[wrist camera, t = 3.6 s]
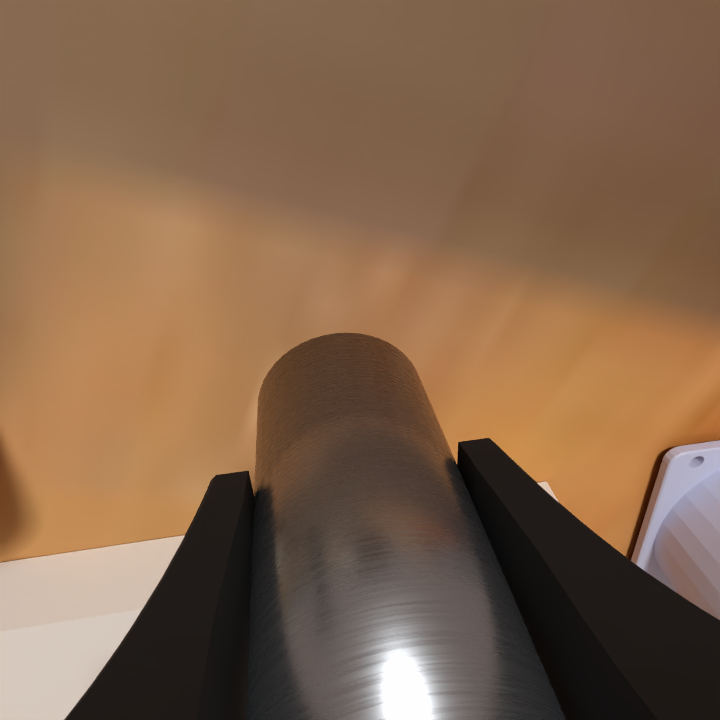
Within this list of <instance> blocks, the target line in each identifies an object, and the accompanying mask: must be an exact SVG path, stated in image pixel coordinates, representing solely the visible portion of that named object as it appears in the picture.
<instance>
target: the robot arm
mask: <svg viewBox="0 0 720 720" xmlns="http://www.w3.org/2000/svg"><path fill="white" fill-rule="evenodd" d="M457 466H458V469H459V471H460V473H461V476H462V478H463V480H464V483H465V485H466V487H467V490H468V492H469V494H470V497H471V499H472V501H473V504H474V506H475V508H476V511H477V513H478V515H479V518H480V520H481V522H482V525H483V527H484V529H485V532H486V534H487V536H488V539H489V541H490V543H491V546H492V548H493V550H494V553H495V555H496V557H497V560H498V562H499V564H500V567H501V569H502V571H503V574H504V576H505V578H506V581H507V583H508V586H509V588H510V590H511V593H512V595H513V597H514V600H515V602H516V604H517V607H518V609H519V611H520V614H521V616H522V618H523V621H524V623H525V625H526V628H527V630H528V632H529V635H530V637H531V639H532V642H533V644H534V646H535V649H536V651H537V653H538V656H539V658H540V660H541V663H542V665H543V667H544V670H545V672H546V674H547V677H548V679H549V681H550V684H551V686H552V688H553V691H554V693H555V695H556V698H557V700H558V702H559V705H560V707H561V709H562V712H563V714H564V716H565V719H566V720H720V440H718V441H711V442H704V443H698V444H691V445H684V446H678V447H674V448H672V449H671V450H669V451H668V452H667V453H666V454H665V456H664V457H663V460H662V463H661V466H660V469H659V472H658V476H657V479H656V482H655V485H654V488H653V492H652V495H651V498H650V501H649V504H648V508H647V511H646V514H645V517H644V520H643V524H642V527H641V530H640V533H639V536H638V539H637V543H636V546H635V549H634V552H633V555H632V559H631V561H630V560H629V559H628V558H626V557H625V556H624V555H622V554H621V553H620V552H618V551H617V550H616V549H615V548H613V547H612V546H611V545H610V544H608V543H607V542H606V541H604V540H603V539H602V538H601V537H599V536H598V535H597V534H596V533H594V532H593V531H592V530H591V529H590V528H588V527H587V526H586V525H585V524H583V523H582V522H581V521H580V520H579V519H577V518H576V517H575V516H574V515H573V514H572V513H571V512H569V511H568V510H567V509H566V508H565V507H564V506H562V505H561V504H560V503H559V502H558V501H557V500H555V499H554V498H553V497H552V496H551V495H550V494H549V493H548V492H546V491H545V490H544V489H543V488H542V487H541V486H540V485H539V484H538V483H537V482H535V481H534V480H533V479H532V478H531V477H530V476H529V475H528V474H527V473H526V472H525V471H524V470H523V469H522V468H520V467H519V466H518V465H517V464H516V463H515V462H514V461H513V460H512V459H511V458H510V457H509V456H508V455H507V454H506V453H505V452H504V451H503V450H502V449H501V448H500V447H498V446H497V445H496V444H495V443H494V442H493V441H492V440H491V439H489V438H485V439H478V440H470V441H463V442H458V462H457ZM253 519H254V494H253V489H252V485H251V480H250V476H249V471H243V472H236V473H229V474H221V475H216V476H215V477H214V478H213V479H212V480H211V482H210V484H209V486H208V489H207V491H206V493H205V495H204V498H203V500H202V502H201V504H200V506H199V508H198V510H197V513H196V515H195V517H194V519H193V521H192V523H191V525H190V527H189V529H188V531H187V532H186V534H185V536H184V538H183V540H182V542H181V544H180V546H179V547H178V549H177V551H176V553H175V555H174V557H173V558H172V560H171V562H170V564H169V566H168V567H167V569H166V571H165V573H164V575H163V576H162V578H161V580H160V581H159V583H158V585H157V586H156V588H155V590H154V591H153V593H152V594H151V596H150V598H149V599H148V601H147V603H146V604H145V606H144V607H143V609H142V611H141V612H140V614H139V615H138V617H137V619H136V620H135V622H134V624H133V625H132V627H131V628H130V630H129V631H128V633H127V634H126V636H125V637H124V639H123V640H122V642H121V643H120V645H119V646H118V648H117V649H116V650H115V652H114V653H113V655H112V656H111V658H110V659H109V660H108V662H107V663H106V665H105V666H104V667H103V669H102V670H101V672H100V673H99V674H98V676H97V677H96V679H95V680H94V681H93V683H92V684H91V685H90V687H89V688H88V689H87V691H86V692H85V693H84V695H83V696H82V697H81V699H80V700H79V701H78V702H77V704H76V705H75V706H74V708H73V709H72V710H71V712H70V713H69V714H68V715H67V717H66V718H65V719H64V720H246V702H247V676H248V650H249V624H250V597H251V571H252V545H253Z"/></svg>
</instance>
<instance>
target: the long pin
mask: <svg viewBox="0 0 720 720" xmlns="http://www.w3.org/2000/svg"><path fill="white" fill-rule="evenodd" d="M246 720H566V719H565V716H564V714H563V712H562V709H561V707H560V705H559V702H558V700H557V698H556V695H555V693H554V691H553V688H552V686H551V684H550V681H549V679H548V677H547V674H546V672H545V670H544V667H543V665H542V663H541V660H540V658H539V656H538V653H537V651H536V649H535V646H534V644H533V642H532V639H531V637H530V635H529V632H528V630H527V628H526V625H525V623H524V621H523V618H522V616H521V614H520V611H519V609H518V607H517V604H516V602H515V600H514V597H513V595H512V593H511V590H510V588H509V586H508V583H507V581H506V578H505V576H504V574H503V571H502V569H501V567H500V564H499V562H498V560H497V557H496V555H495V553H494V550H493V548H492V546H491V543H490V541H489V539H488V536H487V534H486V532H485V529H484V527H483V525H482V522H481V520H480V518H479V515H478V513H477V511H476V508H475V506H474V504H473V501H472V499H471V497H470V494H469V492H468V490H467V487H466V485H465V483H464V480H463V478H462V476H461V473H460V471H459V469H458V466H457V464H456V462H455V459H454V457H453V455H452V452H451V450H450V448H449V445H448V443H447V441H446V438H445V436H444V434H443V431H442V429H441V427H440V424H439V422H438V420H437V417H436V415H435V413H434V410H433V408H432V406H431V403H430V401H429V399H428V396H427V394H426V392H425V389H424V387H423V385H422V382H421V380H420V378H419V375H418V373H417V371H416V369H415V367H414V366H413V364H412V362H411V361H410V360H409V359H408V358H407V357H406V355H405V354H403V353H402V352H401V351H400V350H399V349H397V348H396V347H394V346H393V345H391V344H390V343H388V342H385V341H383V340H381V339H379V338H375V337H372V336H369V335H363V334H357V333H336V334H330V335H324V336H320V337H317V338H314V339H311V340H309V341H306V342H304V343H302V344H300V345H298V346H296V347H295V348H293V349H291V350H290V351H289V352H287V353H286V354H285V355H283V356H282V357H281V358H280V359H279V360H278V361H277V362H276V363H275V364H274V365H273V367H272V368H271V369H270V371H269V372H268V374H267V376H266V377H265V379H264V381H263V384H262V386H261V389H260V393H259V397H258V414H257V440H256V466H255V492H254V519H253V545H252V571H251V597H250V624H249V650H248V676H247V702H246Z"/></svg>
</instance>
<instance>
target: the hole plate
mask: <svg viewBox="0 0 720 720" xmlns="http://www.w3.org/2000/svg"><path fill="white" fill-rule="evenodd" d="M538 484H539V485H540V486H541V487H542V488H543V489H544V490H545V491H546V492H548V493H549V494H550V495H551V496H552V497H553V498H554V499H555V500H557V498H556V497H555V495H554V493H553V492H552V490H551V488H550V487H549V485H548V483H547V482H546V481H545V482H539V483H538ZM557 501H558V500H557ZM558 502H559V501H558ZM184 536H185V535H183V536H176V537H169V538H163V539H156V540H149V541H143V542H136V543H129V544H122V545H116V546H109V547H102V548H96V549H89V550H82V551H75V552H69V553H62V554H55V555H49V556H42V557H35V558H28V559H22V560H15V561H8V562H2V563H0V720H64V719H65V718H66V717H67V715H68V714H69V713H70V712H71V710H72V709H73V708H74V706H75V705H76V704H77V702H78V701H79V700H80V699H81V697H82V696H83V695H84V693H85V692H86V691H87V689H88V688H89V687H90V685H91V684H92V683H93V681H94V680H95V679H96V677H97V676H98V674H99V673H100V672H101V670H102V669H103V667H104V666H105V665H106V663H107V662H108V660H109V659H110V658H111V656H112V655H113V653H114V652H115V650H116V649H117V648H118V646H119V645H120V643H121V642H122V640H123V639H124V637H125V636H126V634H127V633H128V631H129V630H130V628H131V627H132V625H133V624H134V622H135V620H136V619H137V617H138V615H139V614H140V612H141V611H142V609H143V607H144V606H145V604H146V603H147V601H148V599H149V598H150V596H151V594H152V593H153V591H154V590H155V588H156V586H157V585H158V583H159V581H160V580H161V578H162V576H163V575H164V573H165V571H166V569H167V567H168V566H169V564H170V562H171V560H172V558H173V557H174V555H175V553H176V551H177V549H178V547H179V546H180V544H181V542H182V540H183V538H184Z"/></svg>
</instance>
